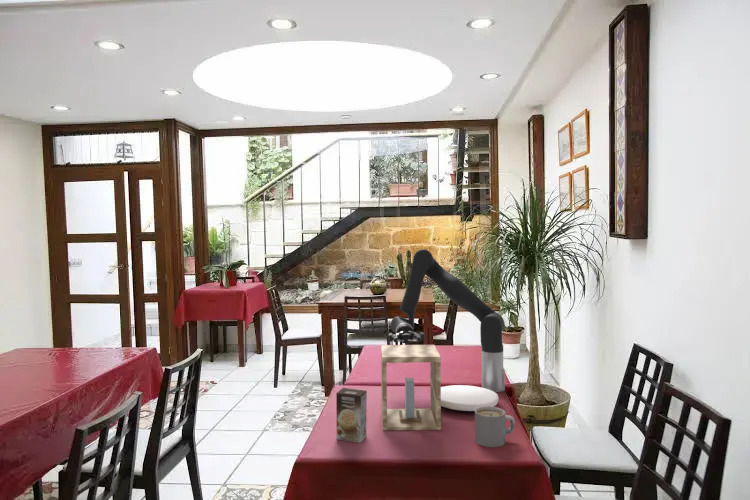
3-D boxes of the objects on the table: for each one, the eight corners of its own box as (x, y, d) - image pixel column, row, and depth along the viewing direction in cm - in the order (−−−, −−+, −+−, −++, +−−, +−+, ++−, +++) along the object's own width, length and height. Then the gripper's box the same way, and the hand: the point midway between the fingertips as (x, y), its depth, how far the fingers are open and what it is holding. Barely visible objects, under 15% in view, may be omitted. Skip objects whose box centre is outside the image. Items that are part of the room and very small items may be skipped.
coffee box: (335, 439, 178) (334, 392, 177) (342, 432, 184) (342, 387, 184) (360, 443, 175) (360, 395, 174) (367, 436, 181) (367, 389, 181)
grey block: (413, 414, 199) (413, 377, 198) (414, 420, 193) (414, 382, 192) (405, 414, 199) (405, 377, 198) (406, 420, 193) (405, 382, 192)
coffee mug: (476, 446, 172) (476, 416, 171) (473, 434, 182) (473, 406, 181) (518, 447, 170) (518, 417, 170) (513, 435, 180) (513, 407, 180)
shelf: (434, 411, 205) (434, 344, 204) (440, 429, 186) (440, 356, 185) (381, 411, 205) (381, 345, 204) (382, 430, 186) (382, 357, 185)
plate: (429, 382, 227) (491, 383, 227) (429, 398, 227) (491, 398, 226) (435, 396, 199) (505, 396, 199) (435, 414, 199) (506, 414, 198)
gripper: (387, 324, 222) (389, 331, 205) (421, 323, 222) (425, 330, 206) (388, 342, 222) (389, 350, 206) (422, 340, 222) (426, 349, 206)
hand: (407, 340), depth 206 cm, fingers open, 8 cm apart
